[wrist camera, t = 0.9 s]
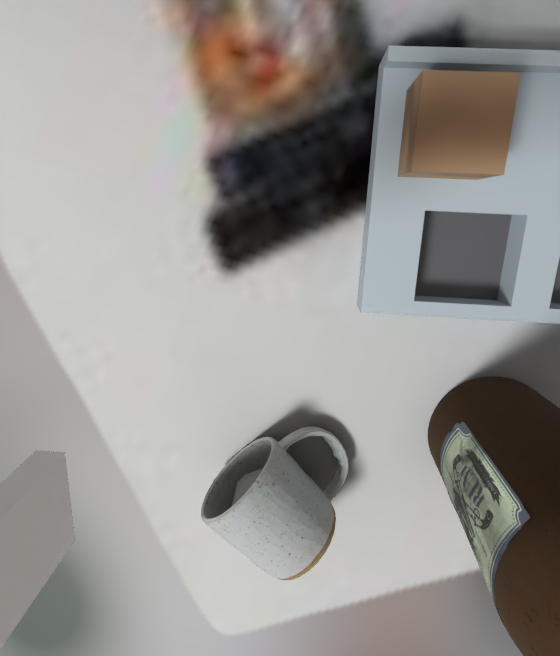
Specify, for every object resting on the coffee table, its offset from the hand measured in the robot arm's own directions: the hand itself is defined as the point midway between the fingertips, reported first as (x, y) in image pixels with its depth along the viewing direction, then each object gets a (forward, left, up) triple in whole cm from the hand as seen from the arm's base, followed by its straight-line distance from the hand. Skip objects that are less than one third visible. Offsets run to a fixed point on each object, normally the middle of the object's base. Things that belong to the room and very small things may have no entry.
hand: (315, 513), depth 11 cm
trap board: (-9, +14, -23) cm, 29 cm away
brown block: (-12, +7, -20) cm, 25 cm away
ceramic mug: (+13, -1, -23) cm, 27 cm away
